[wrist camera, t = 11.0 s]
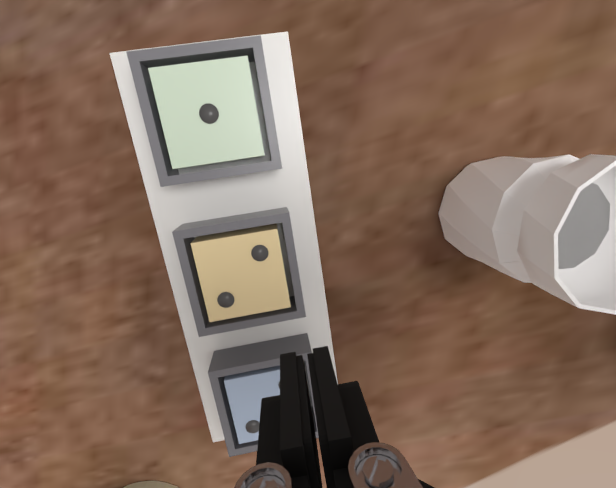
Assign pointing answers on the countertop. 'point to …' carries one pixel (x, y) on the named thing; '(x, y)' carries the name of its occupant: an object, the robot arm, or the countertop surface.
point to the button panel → (233, 219)
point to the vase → (540, 223)
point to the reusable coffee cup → (150, 485)
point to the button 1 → (208, 111)
